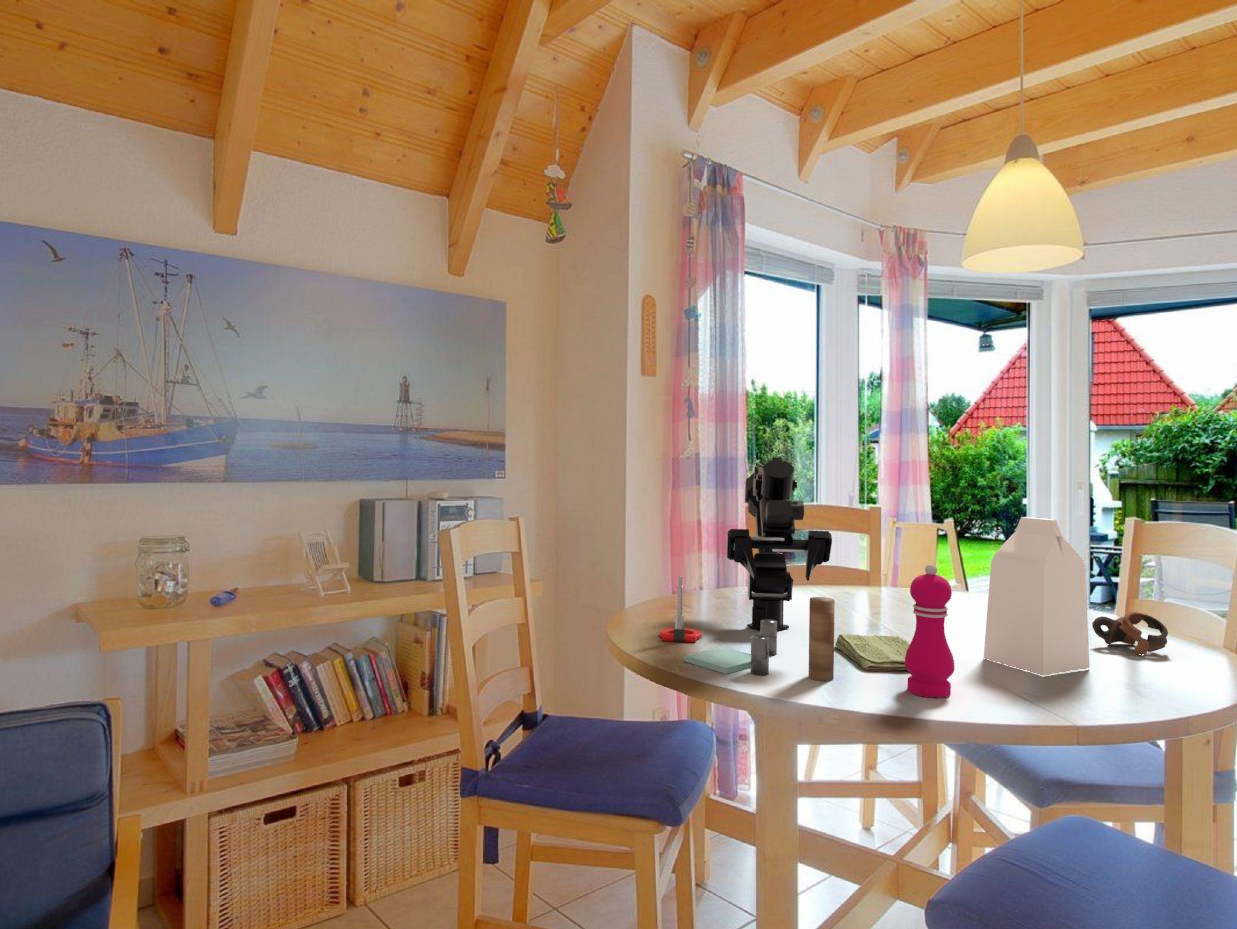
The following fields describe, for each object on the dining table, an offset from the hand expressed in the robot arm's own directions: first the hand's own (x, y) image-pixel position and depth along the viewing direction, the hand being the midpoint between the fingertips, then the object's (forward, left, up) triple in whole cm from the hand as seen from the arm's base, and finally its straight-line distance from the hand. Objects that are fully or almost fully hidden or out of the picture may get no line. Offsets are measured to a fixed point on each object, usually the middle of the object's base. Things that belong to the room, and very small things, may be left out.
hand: (781, 578), depth 134 cm
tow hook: (+1, -24, -15) cm, 29 cm away
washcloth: (-17, +10, -16) cm, 25 cm away
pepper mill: (-5, +25, -15) cm, 30 cm away
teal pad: (+8, -6, -15) cm, 18 cm away
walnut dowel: (+2, +10, -15) cm, 18 cm away
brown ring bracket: (-61, +36, -15) cm, 72 cm away
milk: (-35, +29, -15) cm, 48 cm away
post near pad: (+8, +2, -15) cm, 17 cm away
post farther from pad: (-3, -5, -15) cm, 16 cm away
